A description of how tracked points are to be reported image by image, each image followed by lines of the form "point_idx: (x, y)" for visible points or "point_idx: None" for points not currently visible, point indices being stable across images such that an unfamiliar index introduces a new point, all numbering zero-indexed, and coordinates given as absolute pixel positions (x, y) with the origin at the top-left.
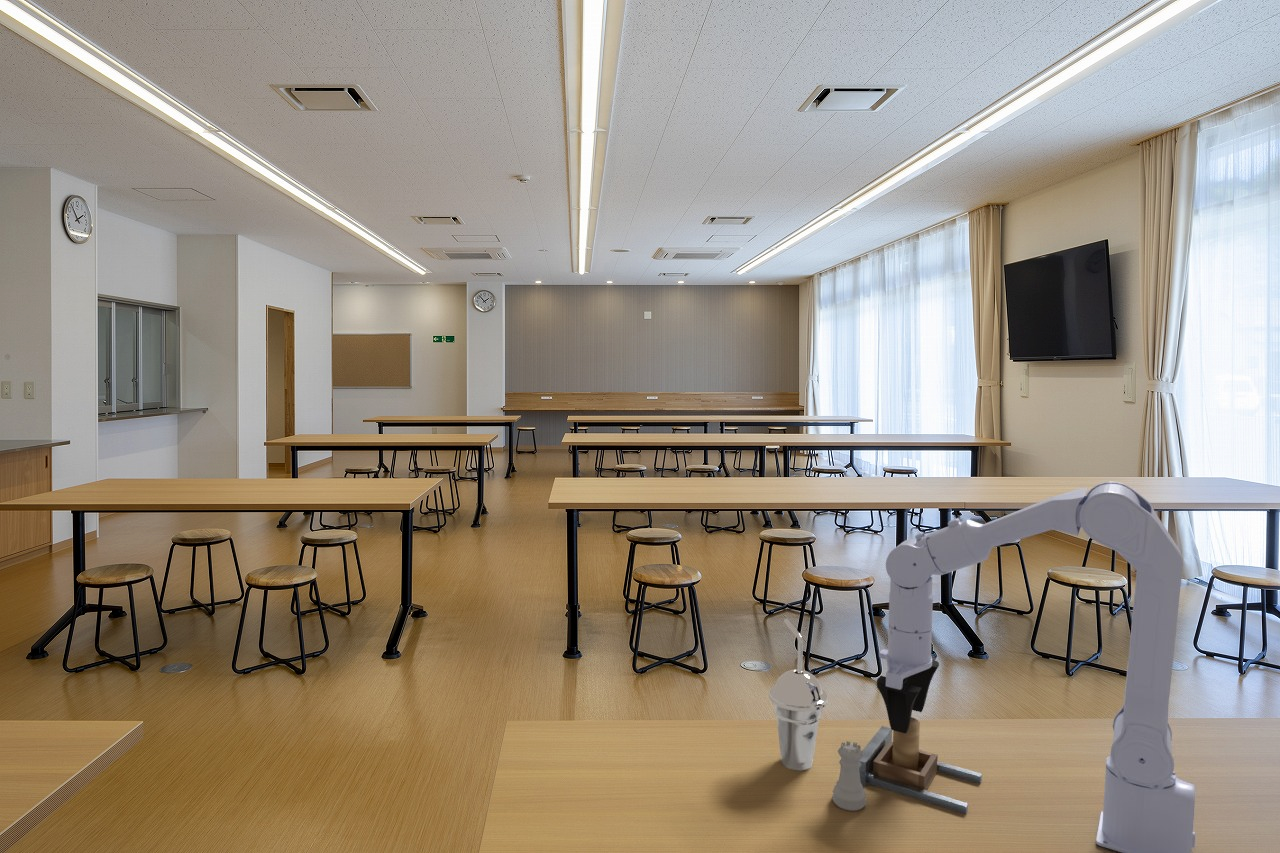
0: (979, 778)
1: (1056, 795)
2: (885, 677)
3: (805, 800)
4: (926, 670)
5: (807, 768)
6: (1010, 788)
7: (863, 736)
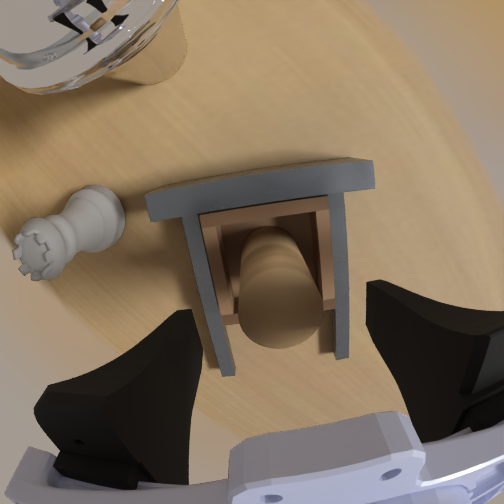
0: (335, 356)
1: (360, 414)
2: (108, 433)
3: (54, 156)
4: (430, 440)
5: (141, 83)
6: (346, 381)
7: (373, 103)
